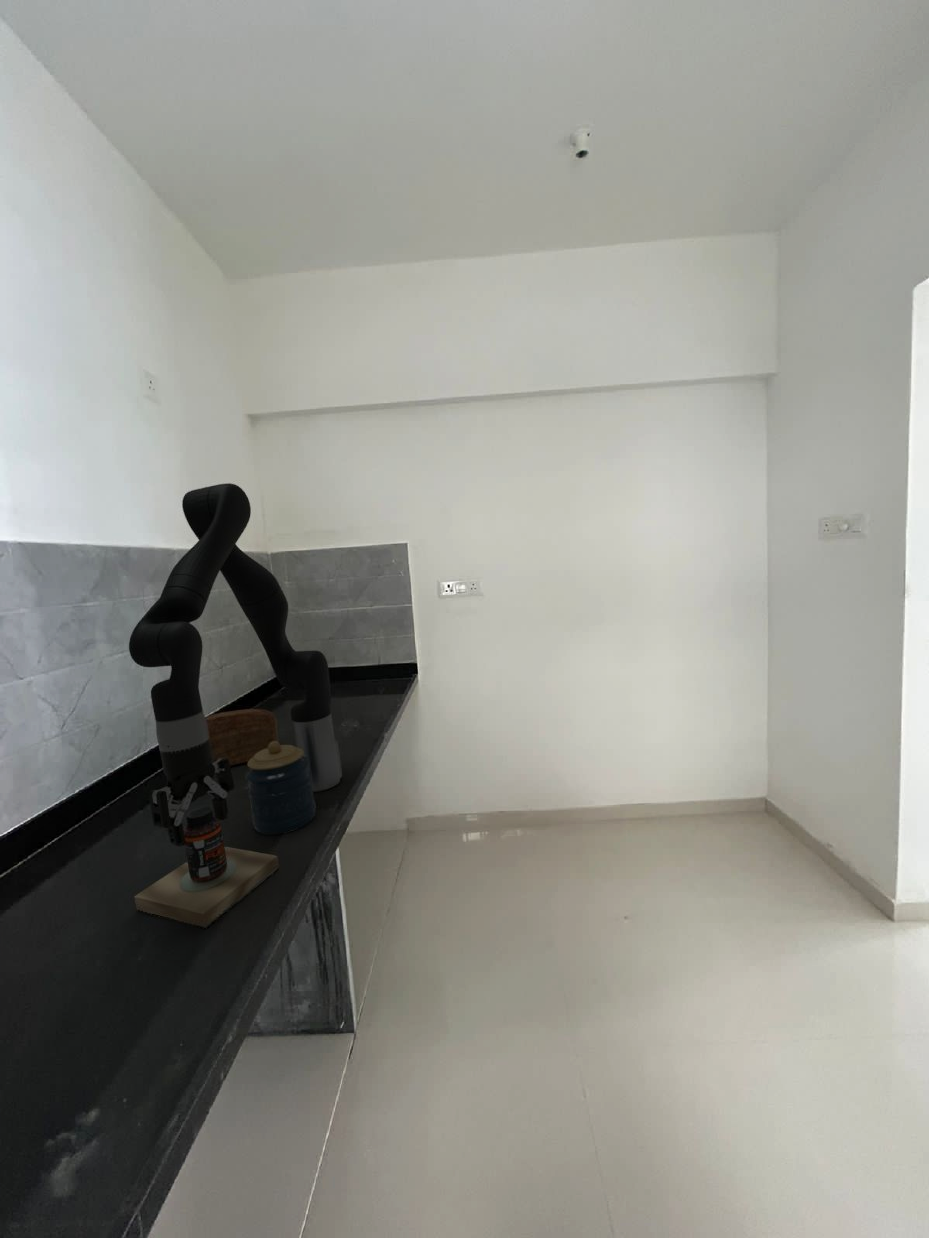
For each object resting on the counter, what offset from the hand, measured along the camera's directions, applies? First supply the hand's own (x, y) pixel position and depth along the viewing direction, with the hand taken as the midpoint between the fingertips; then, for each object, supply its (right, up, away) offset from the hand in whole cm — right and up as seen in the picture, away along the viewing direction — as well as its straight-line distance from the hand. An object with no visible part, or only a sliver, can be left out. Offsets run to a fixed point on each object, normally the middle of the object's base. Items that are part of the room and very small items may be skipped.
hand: (201, 831), depth 93 cm
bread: (-22, -5, +63) cm, 67 cm away
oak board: (+1, -10, +1) cm, 11 cm away
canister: (+7, -7, +24) cm, 26 cm away
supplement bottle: (+1, -8, +1) cm, 8 cm away
